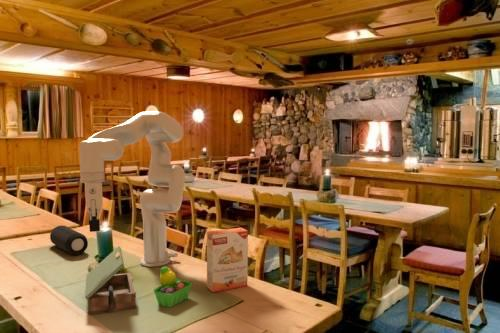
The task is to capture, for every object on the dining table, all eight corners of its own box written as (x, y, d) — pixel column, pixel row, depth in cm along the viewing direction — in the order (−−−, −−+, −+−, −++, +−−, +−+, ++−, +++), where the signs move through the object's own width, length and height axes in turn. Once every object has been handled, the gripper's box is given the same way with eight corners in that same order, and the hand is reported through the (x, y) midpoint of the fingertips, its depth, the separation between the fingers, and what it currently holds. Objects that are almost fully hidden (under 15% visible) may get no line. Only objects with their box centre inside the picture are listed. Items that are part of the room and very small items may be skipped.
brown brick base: (131, 285, 153) (131, 272, 153) (136, 308, 135) (136, 293, 134) (89, 291, 148) (89, 277, 148) (88, 315, 130) (87, 299, 129)
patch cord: (112, 286, 150) (112, 283, 150) (114, 309, 131) (114, 305, 131) (108, 287, 149) (108, 283, 149) (110, 310, 131) (109, 305, 131)
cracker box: (212, 293, 146) (212, 234, 144) (206, 287, 152) (205, 230, 150) (248, 286, 153) (248, 230, 151) (241, 281, 158) (241, 226, 156)
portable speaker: (90, 253, 192) (89, 232, 192) (68, 258, 186) (67, 236, 185) (69, 242, 211) (68, 223, 210) (48, 246, 204) (47, 226, 203)
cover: (120, 247, 151) (117, 244, 151) (124, 265, 132) (120, 262, 131) (88, 276, 148) (85, 273, 148) (87, 299, 129) (83, 296, 128)
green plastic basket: (170, 310, 133) (169, 275, 132) (149, 303, 138) (149, 270, 137) (193, 297, 143) (192, 265, 142) (173, 292, 148) (173, 261, 147)
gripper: (104, 179, 135) (106, 235, 137) (104, 174, 149) (106, 225, 151) (79, 180, 132) (81, 237, 134) (81, 175, 146) (84, 226, 148)
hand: (94, 230), depth 142 cm, fingers closed
